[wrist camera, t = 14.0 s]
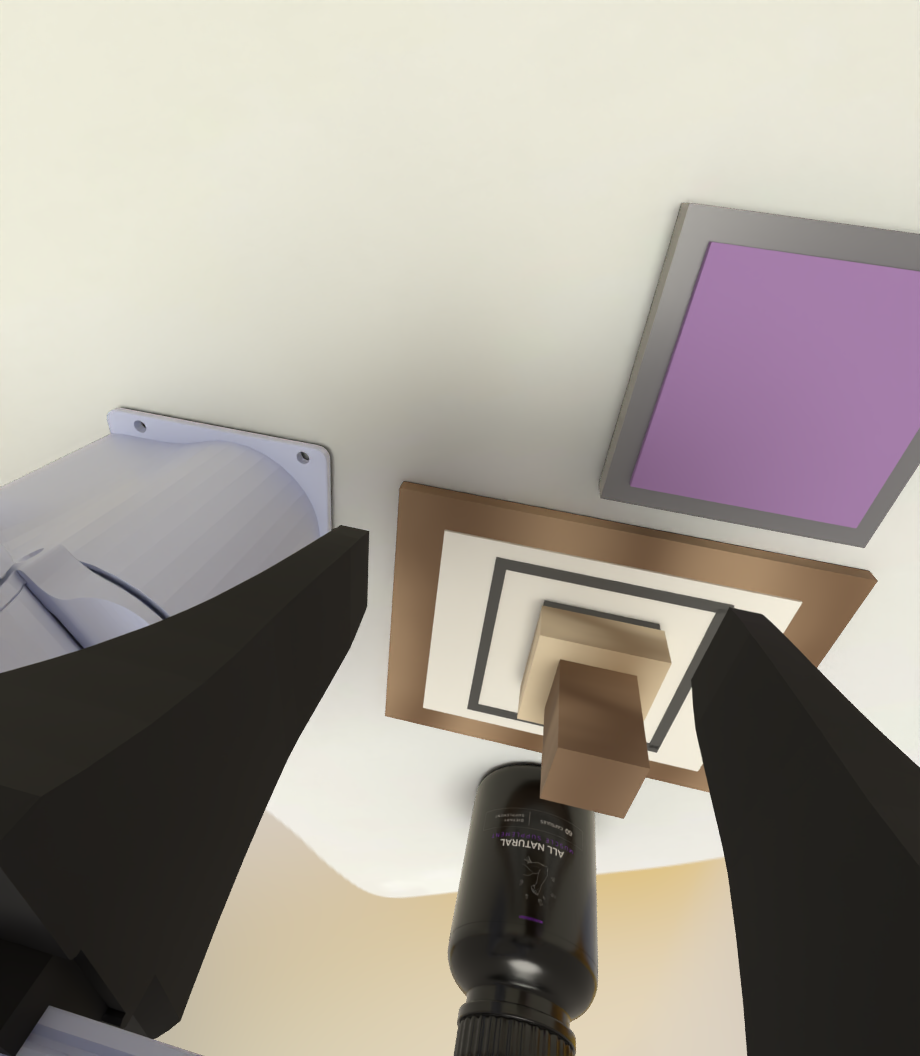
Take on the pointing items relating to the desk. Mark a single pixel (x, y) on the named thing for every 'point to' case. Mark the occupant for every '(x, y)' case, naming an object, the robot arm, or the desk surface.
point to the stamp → (592, 703)
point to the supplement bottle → (524, 920)
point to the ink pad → (775, 376)
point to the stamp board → (582, 581)
